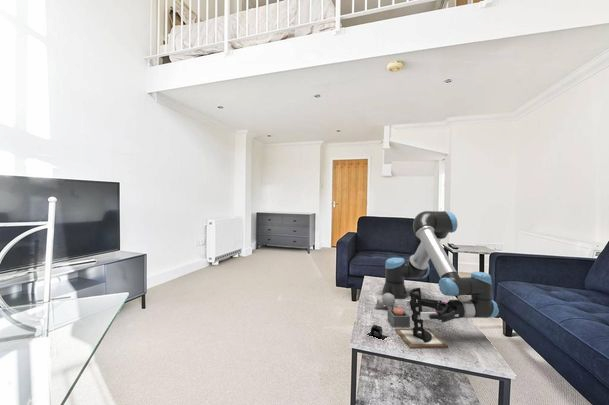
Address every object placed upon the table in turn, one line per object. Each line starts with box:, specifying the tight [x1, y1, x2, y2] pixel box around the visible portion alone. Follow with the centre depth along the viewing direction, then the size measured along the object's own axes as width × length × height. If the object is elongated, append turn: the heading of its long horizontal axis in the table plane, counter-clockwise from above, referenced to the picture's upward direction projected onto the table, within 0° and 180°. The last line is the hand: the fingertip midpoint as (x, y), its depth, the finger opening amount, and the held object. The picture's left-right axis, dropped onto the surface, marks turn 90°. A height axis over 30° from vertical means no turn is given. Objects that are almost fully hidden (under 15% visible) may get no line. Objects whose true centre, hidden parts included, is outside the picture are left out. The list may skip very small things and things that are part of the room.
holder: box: [408, 287, 432, 343], centre depth 116 cm, size 11×8×20 cm
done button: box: [392, 307, 405, 316], centre depth 131 cm, size 5×5×3 cm
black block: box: [367, 324, 390, 340], centre depth 118 cm, size 12×7×5 cm, turn 53°
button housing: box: [387, 309, 411, 328], centre depth 131 cm, size 8×8×5 cm
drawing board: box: [395, 327, 449, 349], centre depth 116 cm, size 15×16×1 cm
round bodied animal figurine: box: [374, 293, 399, 311], centre depth 149 cm, size 7×12×8 cm, turn 82°
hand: (413, 309), depth 116 cm, fingers open, 13 cm apart
